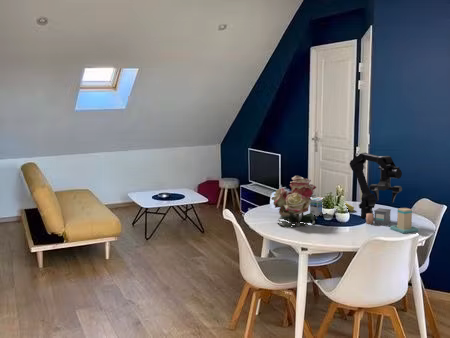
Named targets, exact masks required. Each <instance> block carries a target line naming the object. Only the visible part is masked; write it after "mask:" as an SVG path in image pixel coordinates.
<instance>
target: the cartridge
mask: <svg viewBox="0 0 450 338" xmlns="http://www.w3.org/2000/svg"><path fill="white" fill-rule="evenodd" d="M374 216H375V213H373V214H372V213H367V214H366V218H365V224H366V225H374Z"/></svg>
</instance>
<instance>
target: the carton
mask: <svg viewBox="0 0 450 338" xmlns="http://www.w3.org/2000/svg"><path fill="white" fill-rule="evenodd" d="M412 218H413V209H411V208H408V207H400V208H397V222H396V223H397V224H396V225H397V228H399V229H402V230H408V229H411V226H412V225H413V224H412V223H413V222H412V221H413V219H412Z"/></svg>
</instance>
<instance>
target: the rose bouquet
mask: <svg viewBox="0 0 450 338" xmlns="http://www.w3.org/2000/svg"><path fill="white" fill-rule="evenodd" d="M291 180H292V181H290V182H289V183H290V184H289V187H290V189H291V191H288V190H287V189H285V187H280V188H278V189H277V190H275V193H273V196H271V200H272V201H273V202H272V204H273V205H274V209H276V208H278V213H279V215H280V217H278V220H279V219H284V220H287V221H291V223H288V222H286V221H281V222H282V223H279V224H278V225H280V226H282V227H283V228H285V227H291V226H298V227H297V228H299V227H300V226H303V227H304V226H305V225H308V224H304V223H300V222H308V223H310V222H311V221H312V223H311V224H315V225H316V221H315V220H317V219H318V218H317V217H318V216H314V214H312V213H313V212H312V213H310V212H309V213H308V211H309V209H310V203H311V199H312V198H314V197H316V196H317V194H314V193H315V191H314V190H316V188H317V186H316V185H314V184H310V183H311V182H312V180H311V179H309V178H306V177H302V176H300V175H294V176H293V177H291ZM306 212H307V214H304V213H306ZM278 222H280V220H279V221H278ZM293 222H294V223H293ZM295 222H297V223H295ZM292 224H295V225H292ZM291 228H292V227H291Z"/></svg>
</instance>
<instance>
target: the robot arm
mask: <svg viewBox="0 0 450 338" xmlns="http://www.w3.org/2000/svg"><path fill="white" fill-rule="evenodd" d="M366 161H368V162H373V163H376V164H377V165H378V167H377V170H380V178H379V182H378V183H375V184H374V183H371V184H370V185H368V182H367V179H366V176H365V173H364V168H365V165H364V164H366ZM349 167H350V169H351V171H352V172H353V173H355V176H356V179H357V182H358V185H359V188H360V191H361V198H360V199H361V202H360V203H359V204H358V207H359V209H360V216H359V218H360V219H366V214H367V213H372V214H374V210H373V209H375V206H376V203H377V202H379V199H380V198H379V197H380V193H379V192H380V191H386V190H388V191H392V192H391V193H392V194H391V203H394V202H395V199H396V197H397V195H398V194H399V193H401V192H402V191H403V187H402V186H401V185H394V186H391V180H392V179H400V178H401V177H402V176H403V173H402V170H401V169H400V167H399V166H396V163H395V161H394V160H393V158H392V157H391V156H390V155H380V156H379V155H376V154H372V153H371V154H370V153H367V152H361V153H359V154H358V155H357V156H356V157H354V158H353V159H351V160H350V162H349Z"/></svg>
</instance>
